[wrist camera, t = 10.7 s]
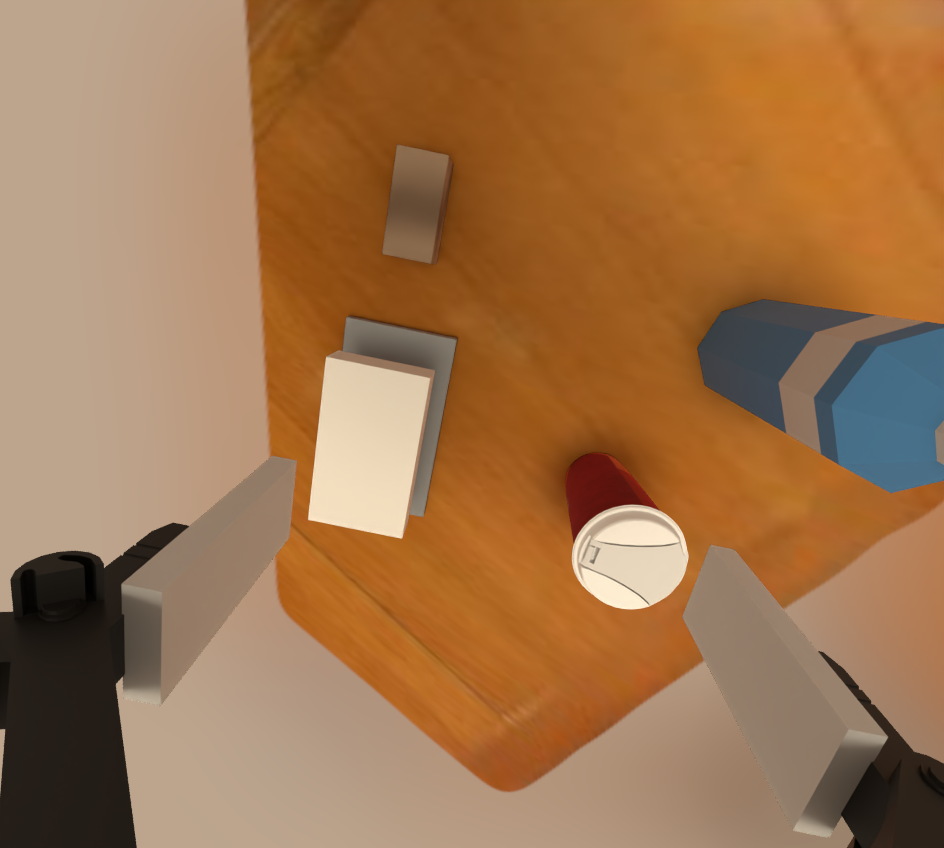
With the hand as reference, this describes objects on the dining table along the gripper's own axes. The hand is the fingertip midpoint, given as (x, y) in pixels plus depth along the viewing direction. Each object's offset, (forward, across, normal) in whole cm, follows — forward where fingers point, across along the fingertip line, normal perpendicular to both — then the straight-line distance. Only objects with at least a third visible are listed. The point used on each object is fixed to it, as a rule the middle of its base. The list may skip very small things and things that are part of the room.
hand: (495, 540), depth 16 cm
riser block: (+33, -9, +11) cm, 36 cm away
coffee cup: (+33, +12, -10) cm, 36 cm away
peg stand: (+33, -9, -8) cm, 35 cm away
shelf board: (+26, -9, -8) cm, 29 cm away
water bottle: (+33, +22, +5) cm, 40 cm away
